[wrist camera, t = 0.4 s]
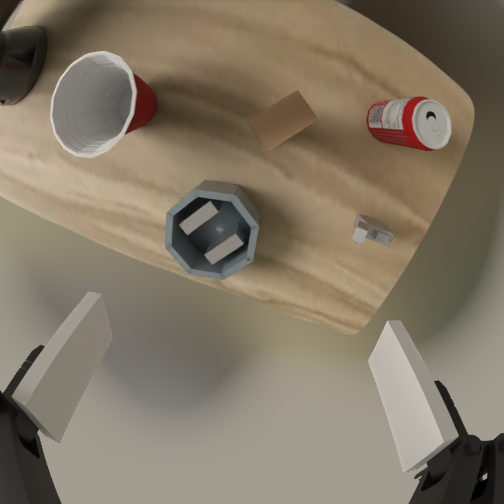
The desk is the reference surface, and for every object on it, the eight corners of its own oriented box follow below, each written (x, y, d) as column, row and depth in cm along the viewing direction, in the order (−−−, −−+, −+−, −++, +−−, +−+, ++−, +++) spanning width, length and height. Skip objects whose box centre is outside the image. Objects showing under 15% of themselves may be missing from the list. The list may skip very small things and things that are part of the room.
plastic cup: (94, 137, 31) (38, 147, 20) (118, 65, 26) (65, 48, 16) (159, 156, 32) (115, 172, 21) (188, 79, 28) (153, 57, 17)
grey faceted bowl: (163, 213, 36) (148, 227, 31) (224, 165, 33) (217, 172, 28) (211, 270, 39) (204, 291, 34) (272, 230, 36) (274, 247, 31)
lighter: (382, 223, 35) (407, 246, 28) (377, 233, 36) (401, 259, 29) (339, 207, 35) (358, 228, 27) (334, 218, 35) (352, 242, 28)
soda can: (403, 141, 30) (458, 152, 19) (369, 144, 31) (416, 154, 20) (397, 101, 28) (451, 97, 17) (361, 103, 28) (407, 95, 18)
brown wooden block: (252, 126, 31) (246, 122, 16) (279, 109, 29) (297, 90, 15) (264, 142, 31) (268, 151, 17) (291, 124, 30) (318, 119, 16)
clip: (187, 214, 35) (178, 224, 31) (215, 193, 34) (210, 201, 30) (217, 250, 37) (212, 264, 33) (245, 231, 36) (243, 244, 32)
